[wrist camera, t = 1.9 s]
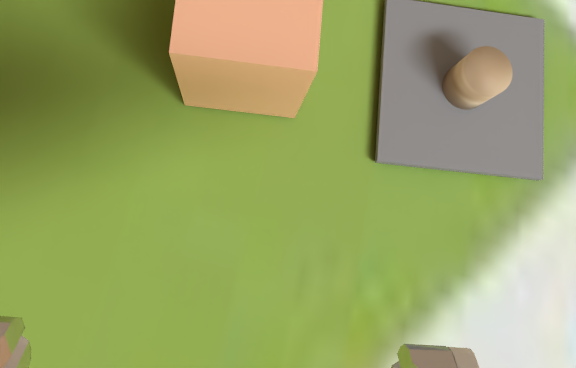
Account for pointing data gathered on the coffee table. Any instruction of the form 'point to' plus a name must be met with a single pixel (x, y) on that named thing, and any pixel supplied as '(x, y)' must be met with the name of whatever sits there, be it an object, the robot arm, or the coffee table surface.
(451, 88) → the tan rounded cylinder
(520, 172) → the mat
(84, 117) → the coffee table surface
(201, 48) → the peach foam cube
